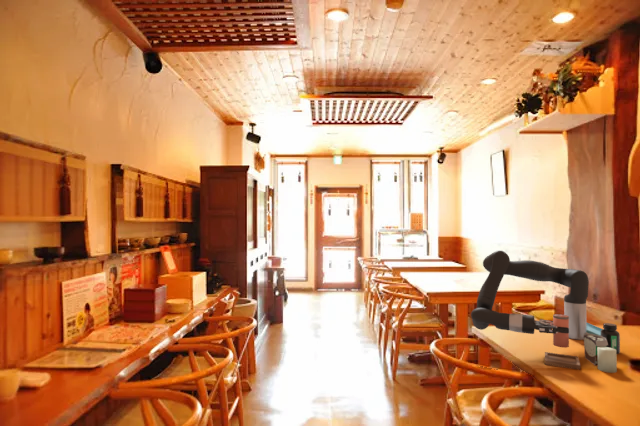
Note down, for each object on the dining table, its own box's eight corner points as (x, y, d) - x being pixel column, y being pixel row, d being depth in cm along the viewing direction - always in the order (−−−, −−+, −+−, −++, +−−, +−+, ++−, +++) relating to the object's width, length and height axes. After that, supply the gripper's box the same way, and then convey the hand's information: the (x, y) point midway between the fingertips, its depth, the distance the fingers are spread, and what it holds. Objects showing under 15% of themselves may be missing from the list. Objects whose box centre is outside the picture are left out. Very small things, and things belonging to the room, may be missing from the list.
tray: (544, 355, 174) (544, 352, 174) (578, 360, 168) (578, 356, 168) (544, 364, 163) (544, 360, 163) (580, 369, 157) (580, 365, 157)
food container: (614, 367, 159) (614, 342, 160) (596, 366, 161) (596, 341, 161) (599, 357, 172) (599, 333, 172) (583, 356, 173) (583, 332, 173)
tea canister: (553, 342, 169) (553, 313, 170) (568, 344, 167) (568, 315, 167) (553, 346, 165) (553, 316, 165) (569, 348, 162) (569, 317, 162)
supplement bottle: (618, 355, 174) (618, 327, 174) (599, 352, 179) (599, 324, 179) (621, 351, 179) (620, 324, 179) (602, 348, 184) (601, 321, 184)
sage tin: (596, 366, 161) (596, 345, 162) (615, 368, 158) (615, 348, 159) (598, 371, 156) (598, 349, 156) (617, 373, 153) (617, 352, 153)
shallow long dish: (619, 339, 199) (619, 334, 199) (600, 339, 199) (600, 334, 199) (584, 325, 225) (584, 321, 225) (568, 325, 225) (567, 321, 225)
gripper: (520, 318, 167) (569, 323, 158) (522, 311, 179) (567, 316, 171) (520, 336, 166) (569, 342, 158) (522, 328, 179) (567, 334, 171)
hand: (568, 328), depth 165 cm, fingers closed on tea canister, 5 cm apart
